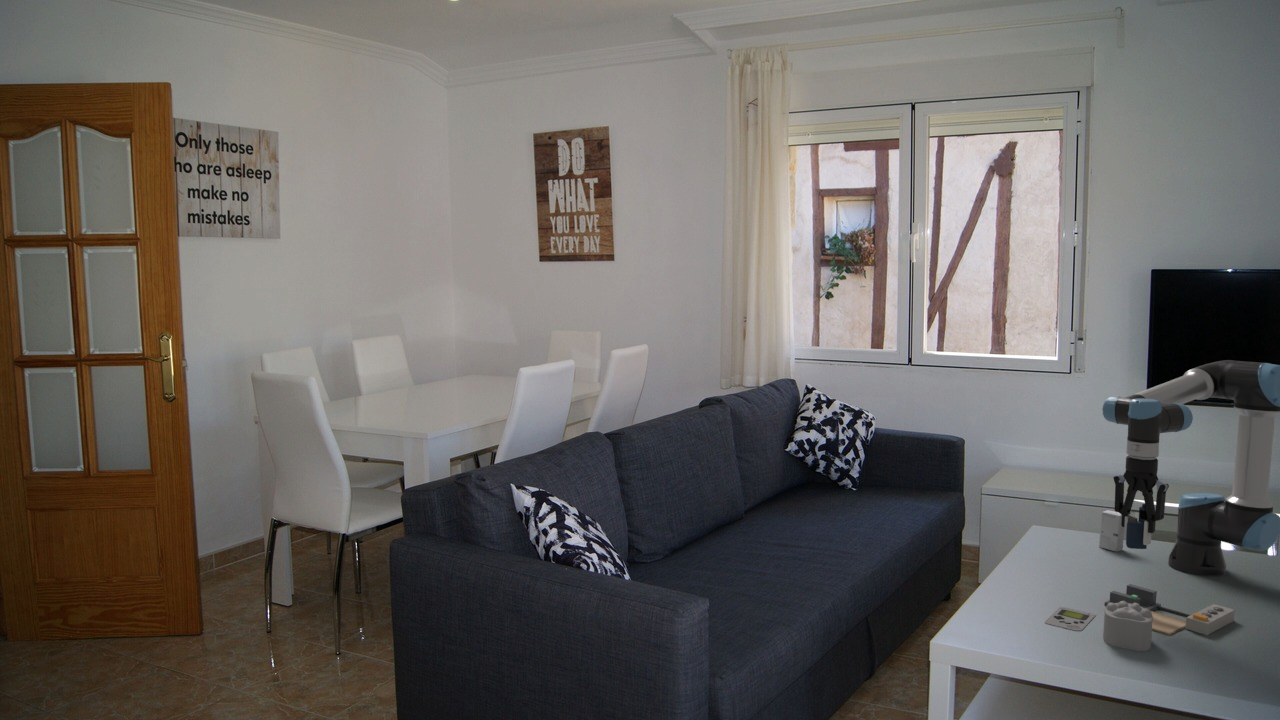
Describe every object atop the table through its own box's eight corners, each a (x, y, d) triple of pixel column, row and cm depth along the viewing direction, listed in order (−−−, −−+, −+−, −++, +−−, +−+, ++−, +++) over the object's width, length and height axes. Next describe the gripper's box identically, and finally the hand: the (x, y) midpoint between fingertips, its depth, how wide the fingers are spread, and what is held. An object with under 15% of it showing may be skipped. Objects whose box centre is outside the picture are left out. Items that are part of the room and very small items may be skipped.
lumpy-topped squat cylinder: (1101, 644, 220) (1103, 609, 219) (1104, 626, 231) (1106, 593, 230) (1150, 653, 215) (1152, 618, 214) (1151, 634, 226) (1153, 601, 225)
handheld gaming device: (1043, 621, 233) (1060, 605, 244) (1043, 624, 233) (1060, 608, 244) (1080, 630, 227) (1096, 613, 238) (1080, 633, 227) (1095, 616, 238)
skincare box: (1098, 547, 297) (1100, 511, 296) (1105, 545, 300) (1107, 509, 298) (1117, 552, 292) (1119, 515, 291) (1124, 549, 295) (1126, 513, 293)
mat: (1142, 610, 242) (1142, 608, 242) (1190, 624, 232) (1190, 622, 232) (1120, 620, 235) (1120, 618, 235) (1168, 635, 225) (1169, 633, 225)
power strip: (1212, 614, 239) (1213, 601, 239) (1233, 620, 235) (1234, 606, 235) (1185, 628, 230) (1186, 614, 229) (1207, 635, 226) (1208, 620, 225)
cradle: (1124, 596, 252) (1125, 580, 252) (1205, 619, 235) (1206, 602, 235) (1104, 605, 246) (1105, 588, 245) (1186, 629, 229) (1187, 612, 228)
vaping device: (1148, 549, 242) (1151, 505, 240) (1127, 548, 243) (1129, 504, 242) (1145, 546, 244) (1147, 503, 243) (1124, 545, 245) (1126, 502, 244)
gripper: (1102, 452, 246) (1097, 536, 248) (1170, 464, 232) (1164, 552, 234) (1116, 449, 250) (1111, 531, 252) (1183, 460, 236) (1177, 547, 238)
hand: (1137, 541), depth 243 cm, fingers closed on vaping device, 4 cm apart
